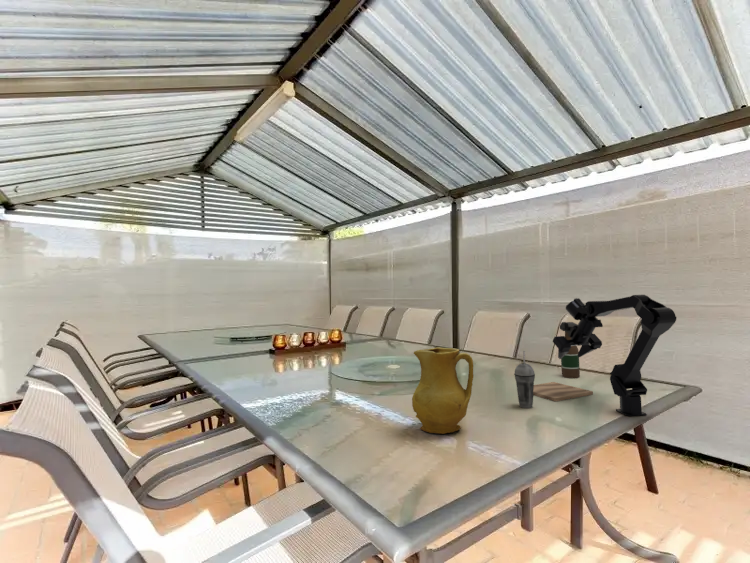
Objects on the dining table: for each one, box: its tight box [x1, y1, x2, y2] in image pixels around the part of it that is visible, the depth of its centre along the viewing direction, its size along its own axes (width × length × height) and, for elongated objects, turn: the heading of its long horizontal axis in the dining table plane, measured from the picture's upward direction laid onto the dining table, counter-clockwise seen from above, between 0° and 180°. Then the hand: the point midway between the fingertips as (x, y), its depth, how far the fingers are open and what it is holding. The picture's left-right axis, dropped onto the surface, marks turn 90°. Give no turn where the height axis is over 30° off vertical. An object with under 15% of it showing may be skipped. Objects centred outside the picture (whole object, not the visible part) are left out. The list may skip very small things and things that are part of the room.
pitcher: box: [411, 346, 474, 435], centre depth 131 cm, size 17×19×25 cm
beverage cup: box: [513, 350, 536, 409], centre depth 152 cm, size 7×7×20 cm
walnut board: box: [533, 381, 594, 402], centre depth 170 cm, size 20×20×1 cm
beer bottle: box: [560, 331, 581, 379], centre depth 197 cm, size 8×8×24 cm
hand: (568, 357), depth 167 cm, fingers open, 9 cm apart
